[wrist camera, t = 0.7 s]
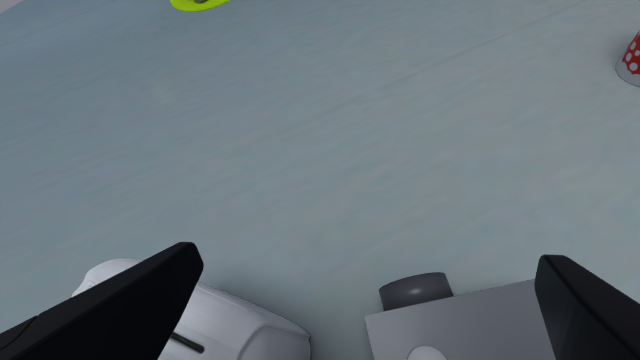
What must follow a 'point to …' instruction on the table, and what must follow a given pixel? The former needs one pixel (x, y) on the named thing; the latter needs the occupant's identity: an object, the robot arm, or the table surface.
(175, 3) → the toy cauldron
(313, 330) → the table surface
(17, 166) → the table surface
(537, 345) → the box
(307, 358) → the photo printer
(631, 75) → the beverage cup
